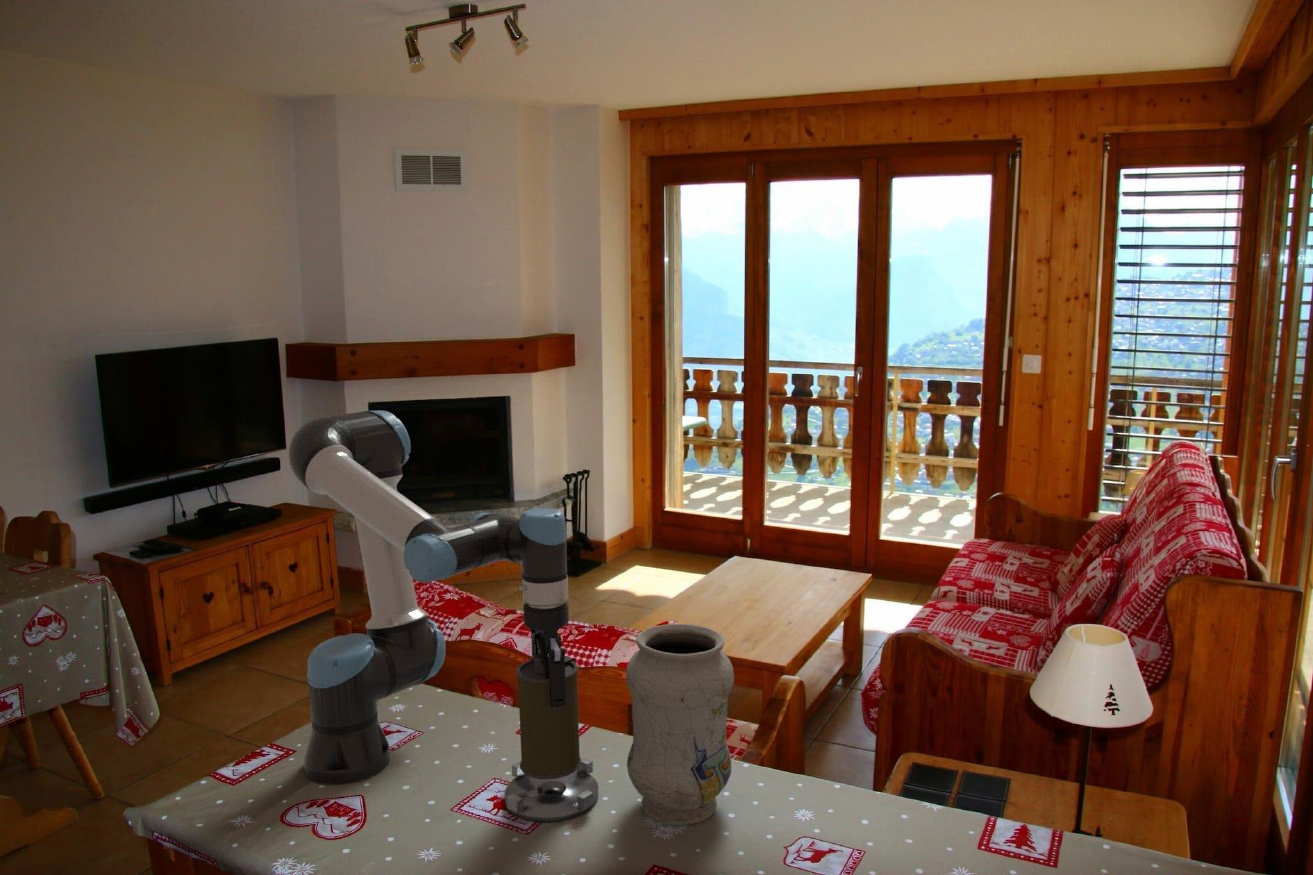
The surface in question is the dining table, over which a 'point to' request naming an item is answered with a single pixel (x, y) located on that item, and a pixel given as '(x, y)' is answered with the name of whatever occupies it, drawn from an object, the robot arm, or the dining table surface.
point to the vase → (679, 721)
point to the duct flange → (552, 795)
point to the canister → (547, 722)
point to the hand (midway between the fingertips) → (550, 732)
